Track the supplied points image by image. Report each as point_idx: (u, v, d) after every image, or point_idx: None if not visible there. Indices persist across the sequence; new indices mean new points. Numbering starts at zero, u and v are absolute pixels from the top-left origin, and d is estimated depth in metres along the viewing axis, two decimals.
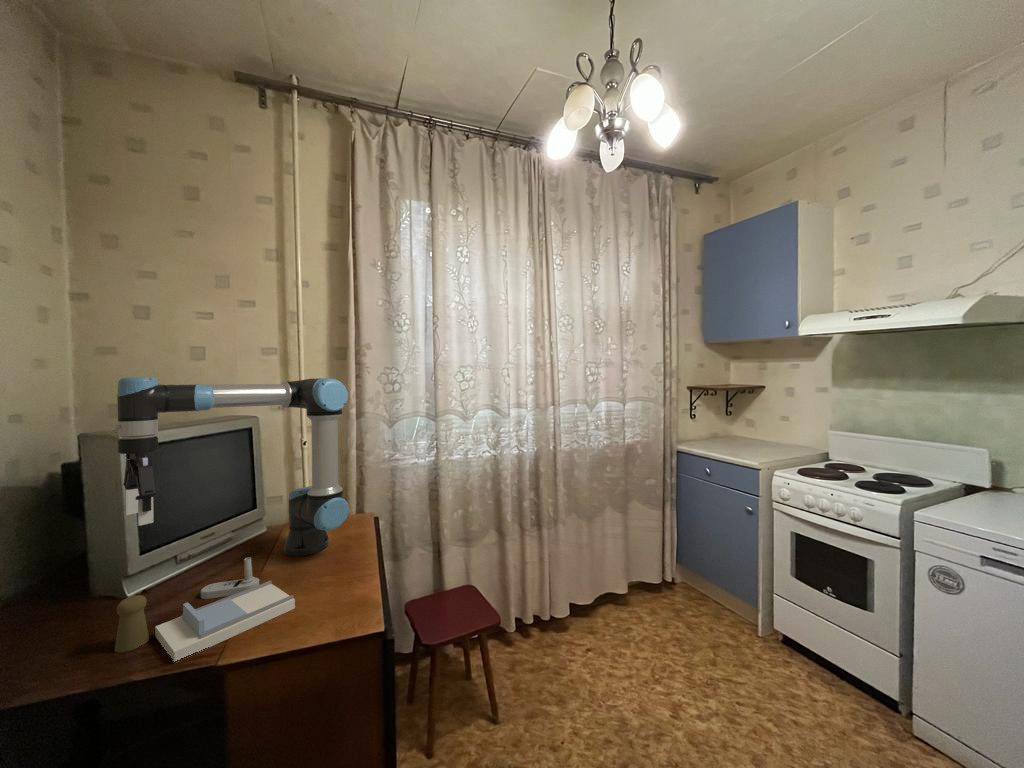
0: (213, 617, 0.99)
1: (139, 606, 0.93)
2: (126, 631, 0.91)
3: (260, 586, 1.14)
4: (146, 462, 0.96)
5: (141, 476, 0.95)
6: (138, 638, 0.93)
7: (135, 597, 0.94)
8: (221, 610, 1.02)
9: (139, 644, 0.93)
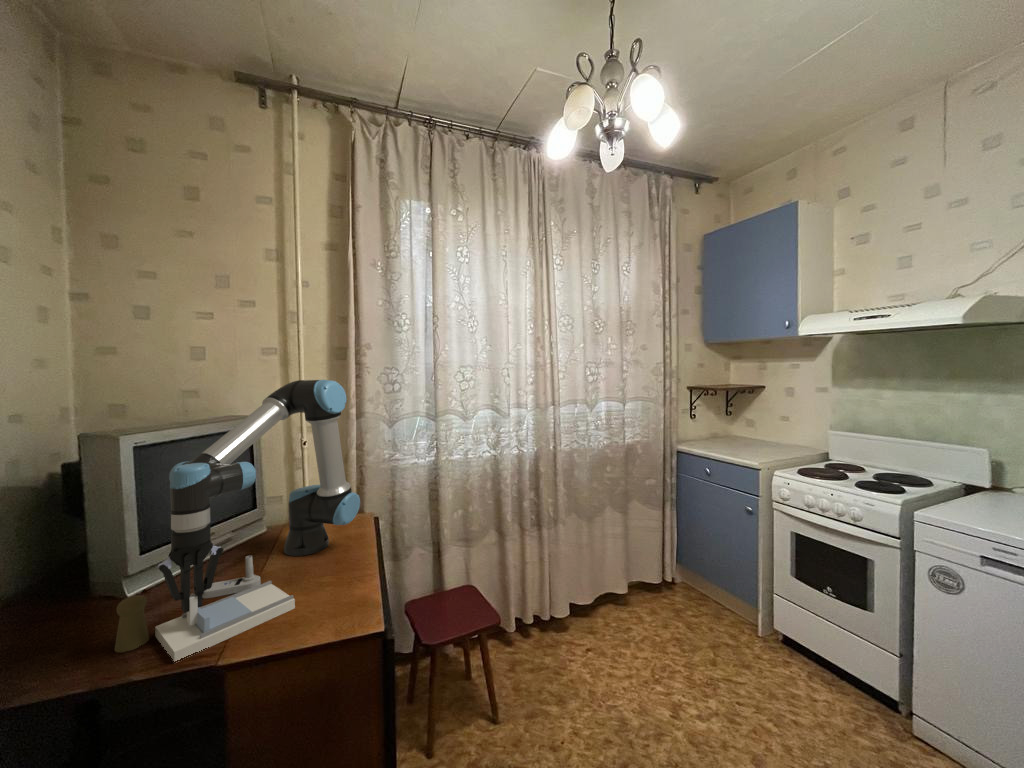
0: (218, 615, 0.99)
1: (139, 606, 0.93)
2: (126, 631, 0.91)
3: (260, 586, 1.14)
4: (160, 570, 0.91)
5: None
6: (138, 638, 0.93)
7: (135, 597, 0.94)
8: (226, 608, 1.02)
9: (139, 644, 0.93)
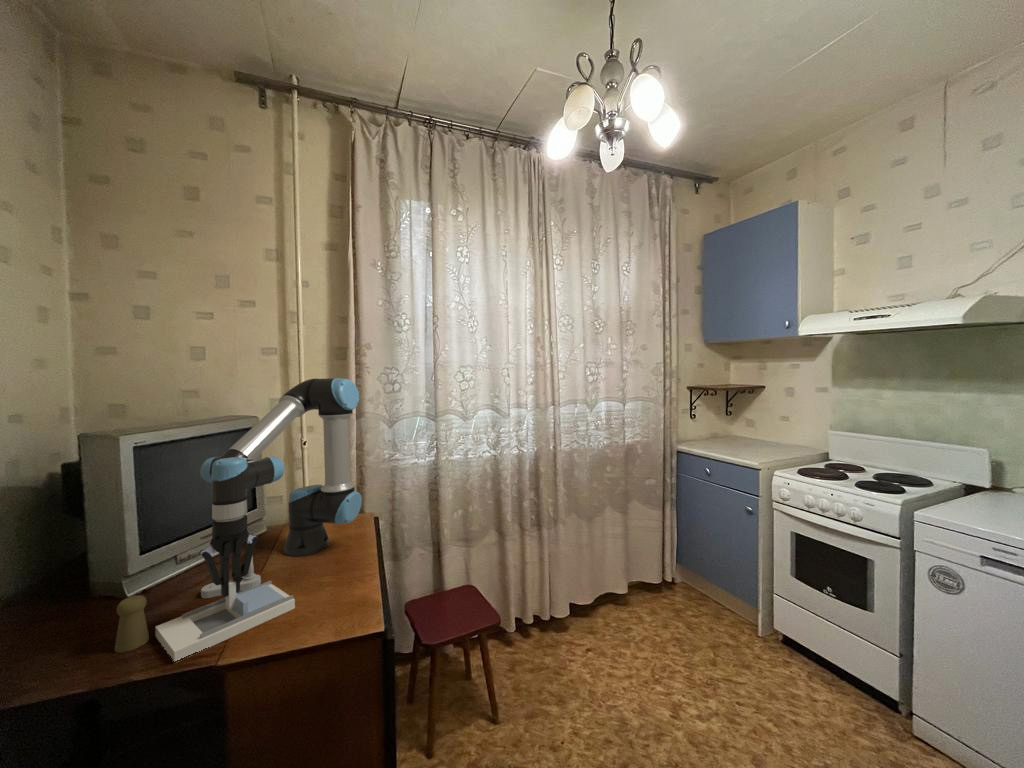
0: (253, 600, 1.06)
1: (139, 606, 0.93)
2: (126, 631, 0.91)
3: None
4: (203, 557, 0.98)
5: (207, 566, 0.99)
6: (138, 638, 0.93)
7: (135, 597, 0.94)
8: (260, 594, 1.09)
9: (139, 644, 0.93)
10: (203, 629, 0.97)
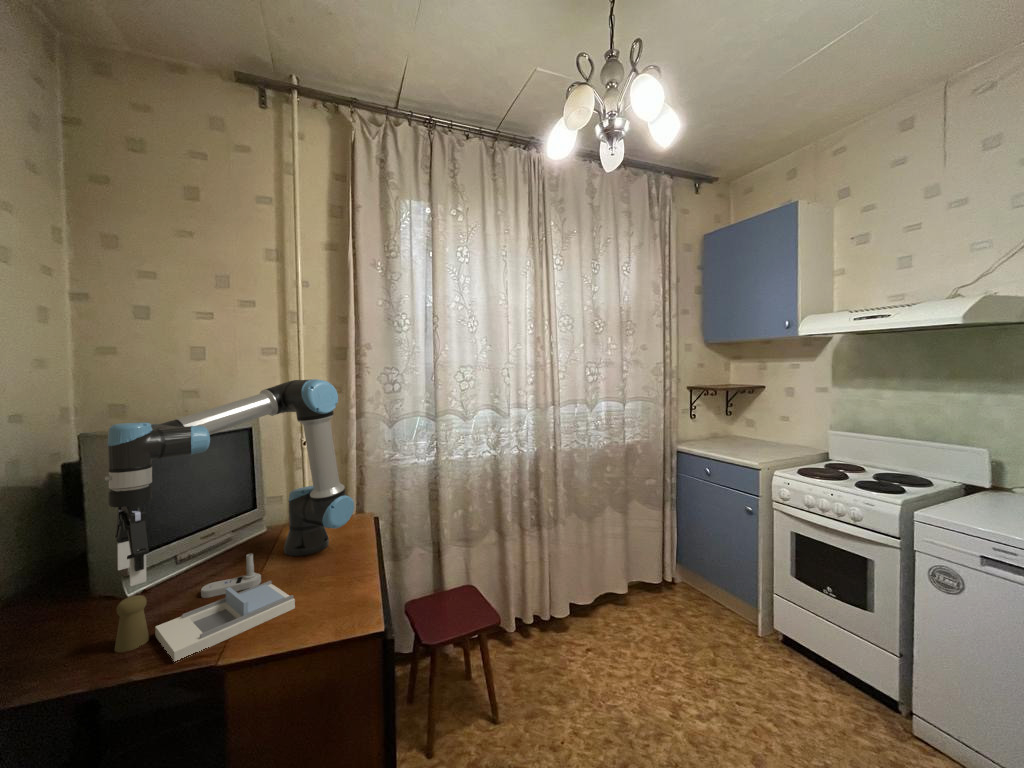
0: (253, 600, 1.06)
1: (139, 606, 0.93)
2: (126, 631, 0.91)
3: None
4: (139, 517, 0.90)
5: (133, 533, 0.88)
6: (138, 638, 0.93)
7: (135, 597, 0.94)
8: (260, 594, 1.09)
9: (139, 644, 0.93)
10: (203, 629, 0.97)
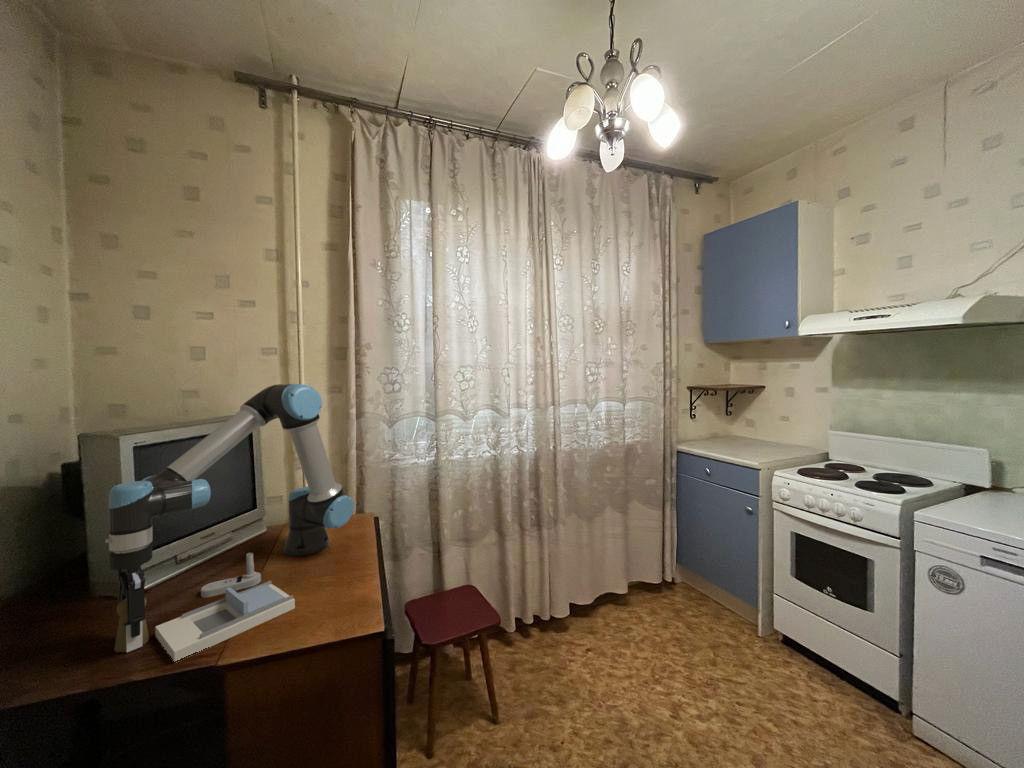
0: (253, 600, 1.06)
1: None
2: None
3: None
4: (138, 585, 0.90)
5: (131, 602, 0.89)
6: None
7: None
8: (260, 594, 1.09)
9: None
10: (203, 629, 0.97)
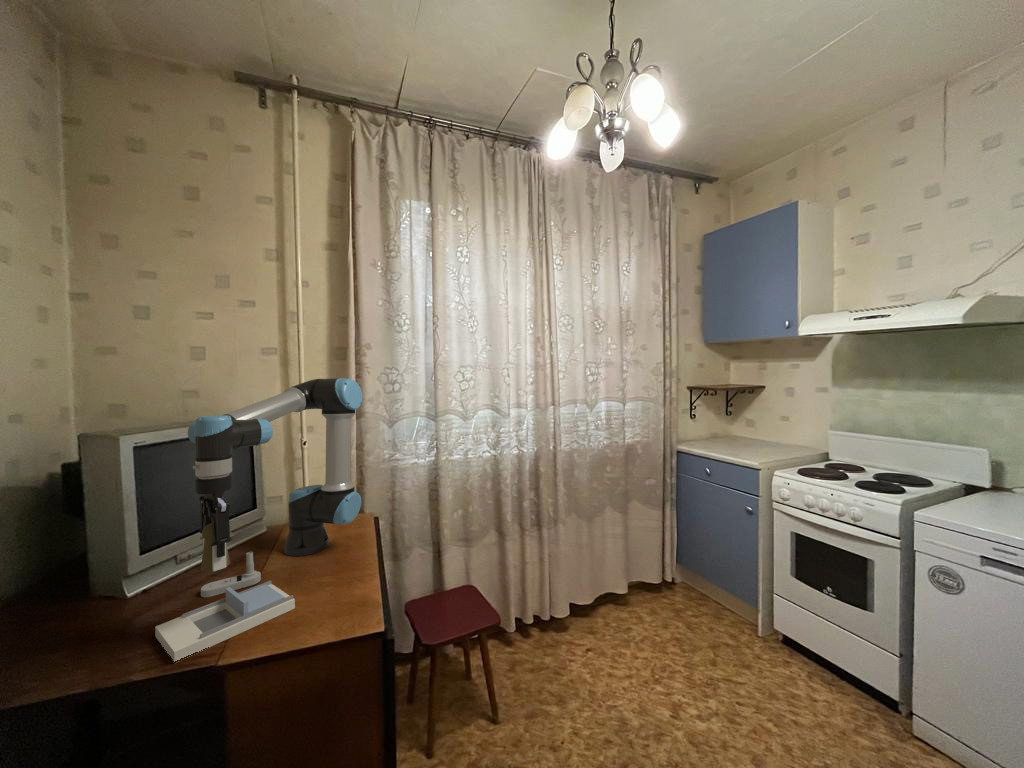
0: (253, 600, 1.06)
1: None
2: None
3: None
4: (224, 508, 0.96)
5: (219, 523, 0.95)
6: None
7: None
8: (260, 594, 1.09)
9: None
10: (203, 629, 0.97)
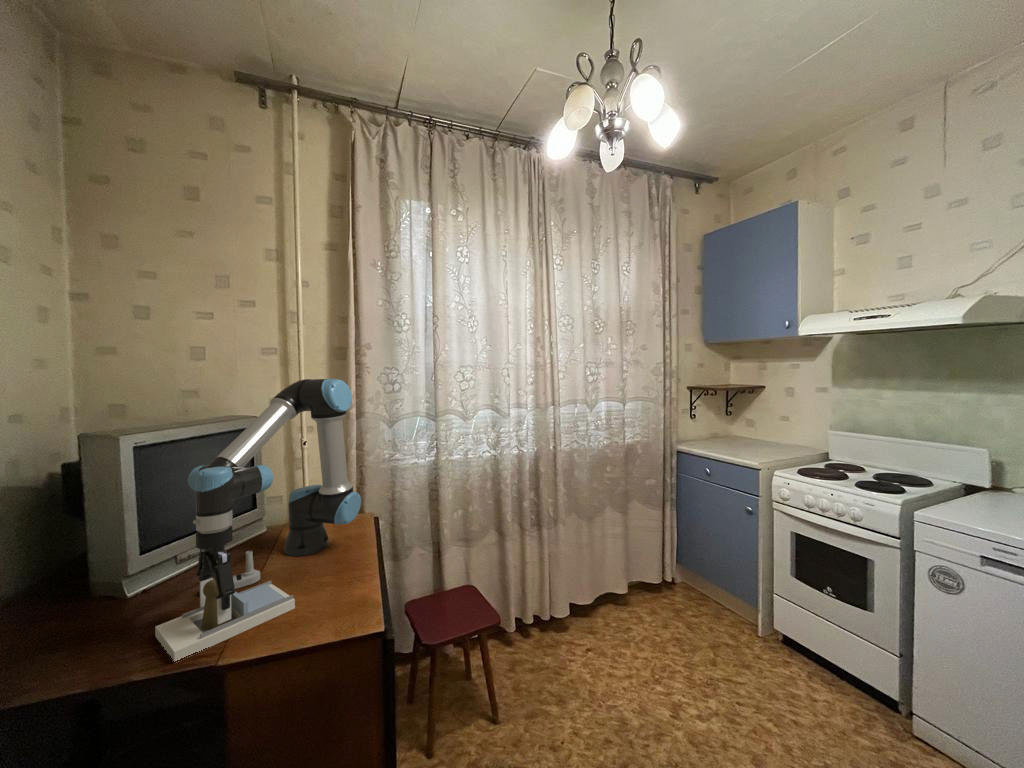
0: (253, 600, 1.06)
1: None
2: (213, 610, 0.98)
3: None
4: (225, 559, 0.96)
5: (221, 575, 0.94)
6: None
7: None
8: (260, 594, 1.09)
9: (223, 623, 0.99)
10: None
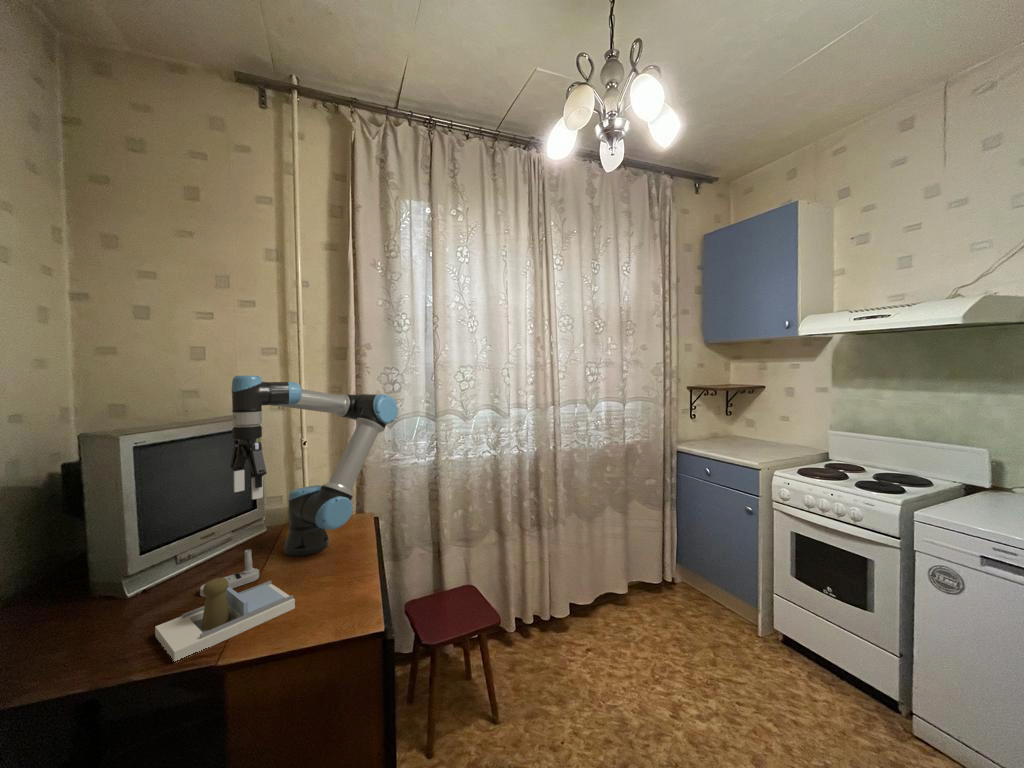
0: (253, 600, 1.06)
1: (223, 587, 0.99)
2: (213, 610, 0.98)
3: None
4: (257, 446, 1.15)
5: (255, 458, 1.14)
6: (223, 618, 0.99)
7: (218, 579, 1.00)
8: (260, 594, 1.09)
9: (223, 623, 0.99)
10: None
